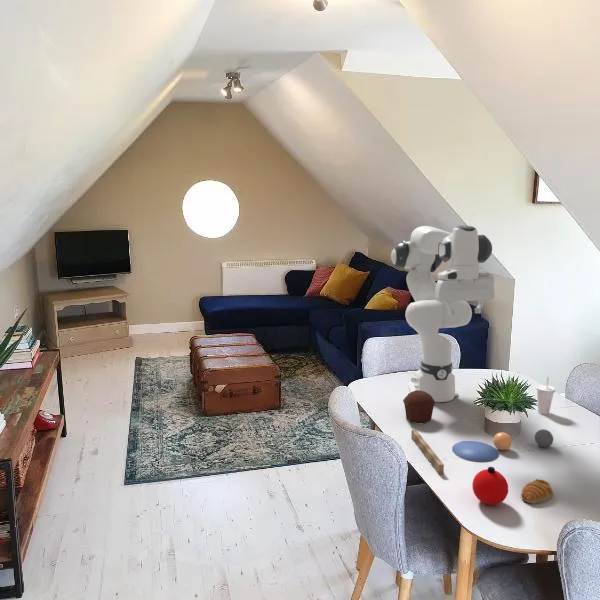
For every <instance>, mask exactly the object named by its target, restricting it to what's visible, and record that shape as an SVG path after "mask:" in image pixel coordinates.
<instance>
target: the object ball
mask: <svg viewBox="0 0 600 600" xmlns="http://www.w3.org/2000/svg"><path fill="white" fill-rule="evenodd" d="M492 441H493V445H494V446H495V449H498V450H500V451H507V450H509V449H510V448H511V447H512V444H513V440H512V437H511V436H510V435H509V434H508V433H506V432H503V431H502V432H497V433H496V434H495V435H494V437H493V439H492Z"/></svg>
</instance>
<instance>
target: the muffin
mask: <svg viewBox="0 0 600 600" xmlns="http://www.w3.org/2000/svg"><path fill="white" fill-rule="evenodd" d="M402 402H403V405H404V411H405V418H406V419H405V420H407V421H409V422H410V423H413V424H417V423H418V424H417V425H420V423H422V424H427V422H428V423H430V422H431V421H432V417H433V412H434V407H435V405H436V402H435V401H434V399H433V398H432V396H431V395H430V394H428V393H426V392H425V391H419V390H418V391H413V392H411V393H410V392H409V393H408V394H407V395H406V396H405V397H404V398H403V399H402Z"/></svg>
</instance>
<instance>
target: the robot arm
mask: <svg viewBox="0 0 600 600" xmlns="http://www.w3.org/2000/svg"><path fill="white" fill-rule="evenodd" d="M492 253H493V244H492V242H491V240H490V239H489V238H488V237H487V236H486V235H484V234H479V233H478V230H477V228H476V227H474V226H471V225H458V226H455V227H453V230H452V232H449V231H448V230H443V229H440V228H437V227H434V226H430V225H421V226H417V227H416V228H415V229H414V230H413V231H411V234H410V239H409V241H405V240H402V241H401V242H400V243H398V244H396V245H395V246H394V247H392V250H391V253H390V254H391V255H390V260H391V263H392V265H393V267H394V268H397V269H402V270H404V269H406V270H407V269H408V270H409V271H408V272H407V274H406V284H407V285H406V286H407V288H408V290H409V293H410V295H411V296H412V298H413V300H414V301H413V302H410V303H409V304H408V305H407V307H406V310H405V314H404V315H405V319H406V323H407V324H408V325H409V327H411V328H412V329H413V330H415V331H416V332H417V334H418V335H419V337H420V339H421V340H420V341H421V347H422V353H421V354H422V355H421V356H422V359H421V361H420V364H419V366H420V367H419V369H418V370H417V371H415V372H414V374H413V376H411V380H410V381H411V382H410V381H409V382H408V383H407V386H408V391H409V393H411V392H413V391H418V390H419V391H425V392H426V393H428V394H430V395H431V396H432V398H433V399H434V401H435V403H445V402H450V401H452V400H454V398H455V397H458V396H459V392H458V391H456V377H455V375H454V373H452V371H453V361H452V356H453V355H452V352H453V350H452V349H453V345H452V342H451V341H450V340H449V339H448V338H446V337H445V336H442V335H441V334H439V330H440V329H447V328H448V329H450V328H458V327H463V326H465V325H469V323H470V321H471V319H472V316H473V312H472V311H473V310H472V307H471V306H470V305H471V304H469V303H468V302H469V301H473V302H474V301H477V303H478V304H477V306H476V307H474V314H481V313H482V309H483V307H484V304H485V301H492V300H494V298H495V286H494V283H495V277H494V275H492V274H491V273H489V272H481V273H480V272H479V267H480V266H479V264H484V263H485V262H487V260H489V258H490V257H491V255H492ZM443 262H444V263H446V264H451V268H449V269H446V270H444V271H440V272H438V273H437V278H438V280H437V282H436V280H435V279H434V278H433V277H432V274H431V273H435V272H436V271H437V269H438V268H439V267H440V266H441V264H442V263H443Z"/></svg>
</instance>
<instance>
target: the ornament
mask: <svg viewBox="0 0 600 600" xmlns="http://www.w3.org/2000/svg"><path fill="white" fill-rule="evenodd" d="M471 487H472V491H473V494H474V496H475V497H476V499H477V500H478V501H480V502H481V503H483V504H485V505H488V506H497V505H499V504H501V503H503V502H505V500H506V499H507V496H508V494H509V485H508V481H507V479H506V477H505V476H504V475H503V474H502V473H501V472H499V471H497V470H496V469H495V467H494V466H488V467H487V468H486V469H482V470H481V471H479V472H477V474H476V475H475V476H474V477H473V480H472V486H471Z"/></svg>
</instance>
